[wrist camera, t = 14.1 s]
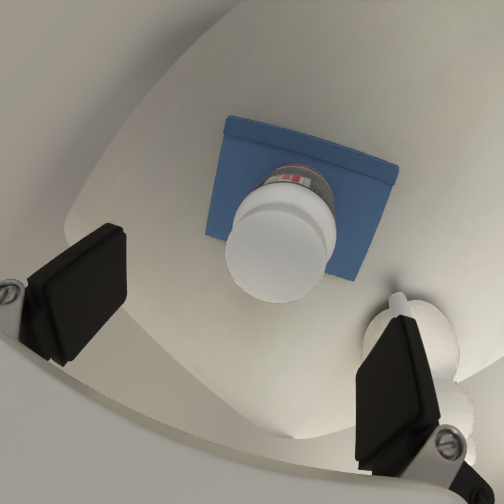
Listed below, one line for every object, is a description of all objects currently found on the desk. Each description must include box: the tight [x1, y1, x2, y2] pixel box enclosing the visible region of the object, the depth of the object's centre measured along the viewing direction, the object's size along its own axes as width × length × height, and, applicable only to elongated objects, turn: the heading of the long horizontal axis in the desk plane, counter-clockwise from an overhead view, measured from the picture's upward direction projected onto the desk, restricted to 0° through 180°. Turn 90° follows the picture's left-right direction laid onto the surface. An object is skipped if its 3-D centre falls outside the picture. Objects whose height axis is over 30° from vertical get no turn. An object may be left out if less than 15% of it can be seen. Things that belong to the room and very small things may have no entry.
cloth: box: [205, 116, 399, 281], centre depth 22 cm, size 13×10×1 cm
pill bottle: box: [225, 164, 337, 303], centre depth 18 cm, size 6×6×10 cm
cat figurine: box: [362, 292, 476, 466], centre depth 18 cm, size 9×12×15 cm
